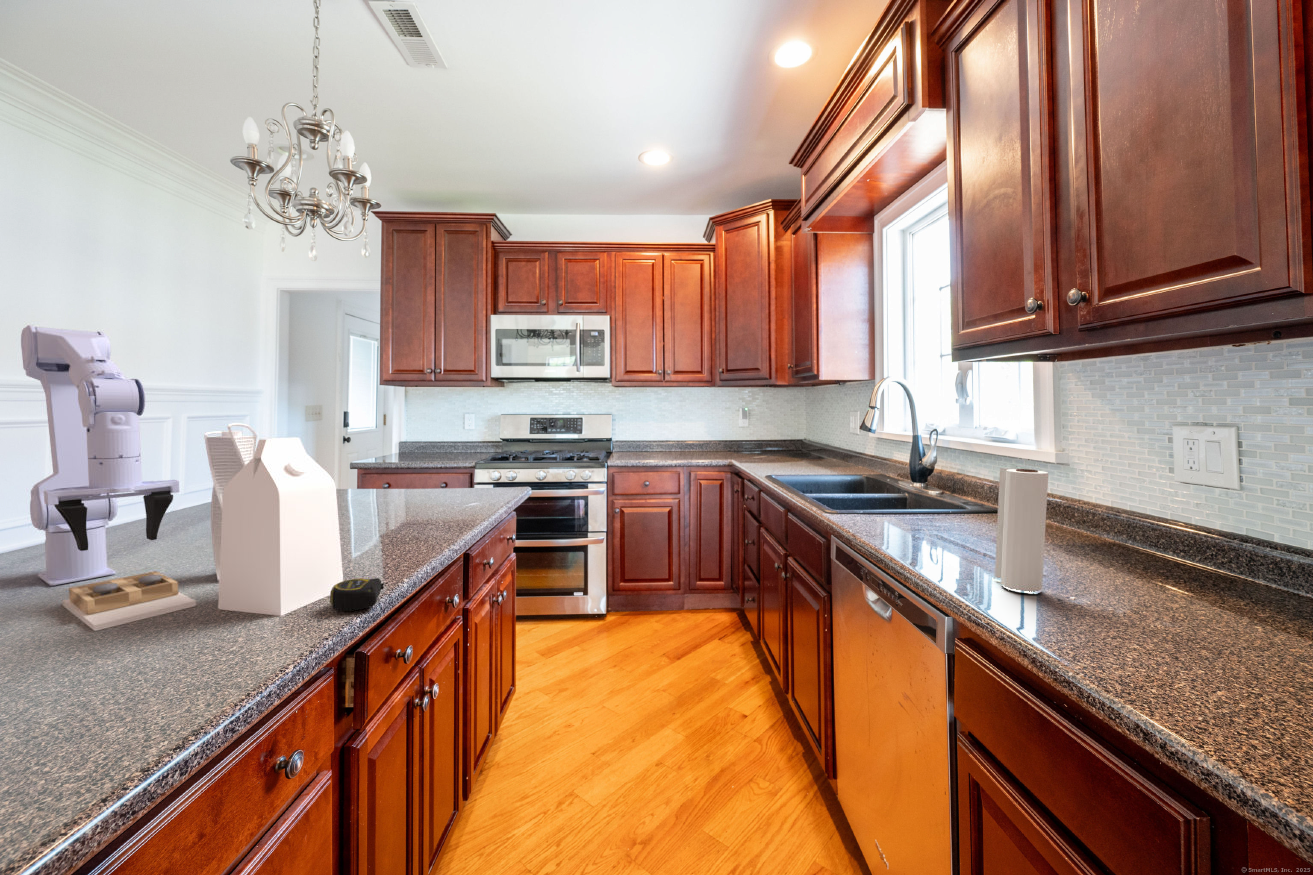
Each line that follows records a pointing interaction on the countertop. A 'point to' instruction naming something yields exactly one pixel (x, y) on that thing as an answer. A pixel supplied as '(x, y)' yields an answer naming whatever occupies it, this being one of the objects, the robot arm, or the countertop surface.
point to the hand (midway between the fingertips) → (118, 544)
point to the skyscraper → (225, 472)
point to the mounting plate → (130, 607)
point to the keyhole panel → (122, 593)
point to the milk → (279, 532)
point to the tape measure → (355, 594)
